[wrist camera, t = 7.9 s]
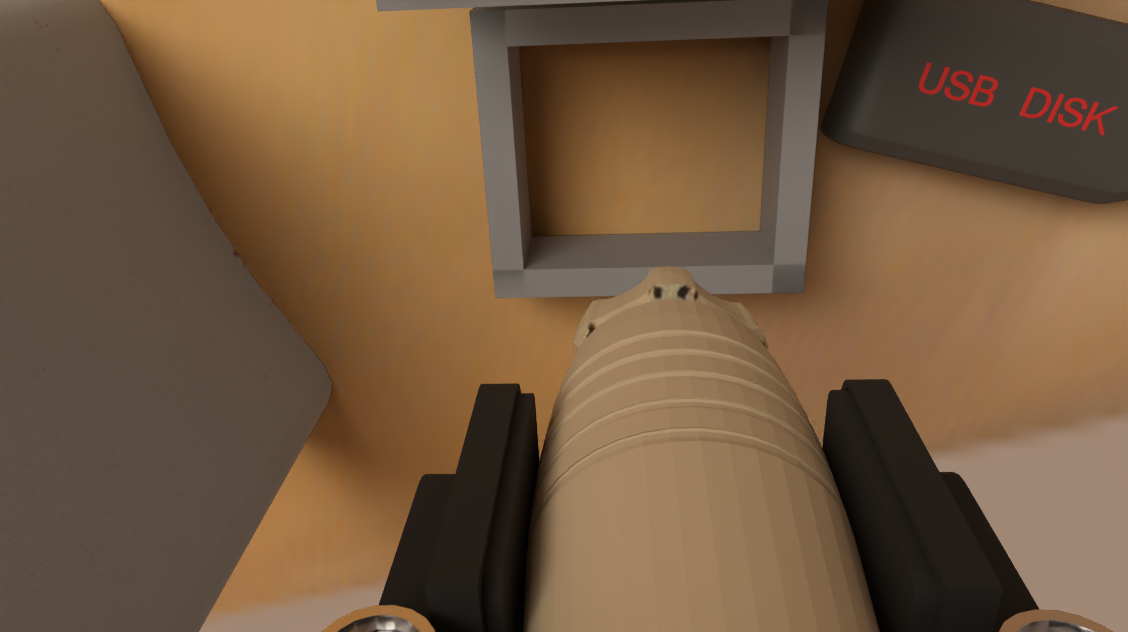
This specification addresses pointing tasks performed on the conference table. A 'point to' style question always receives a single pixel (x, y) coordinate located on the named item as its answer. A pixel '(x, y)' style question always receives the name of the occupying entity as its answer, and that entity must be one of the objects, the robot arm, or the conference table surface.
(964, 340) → the conference table surface
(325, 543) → the conference table surface
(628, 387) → the handle
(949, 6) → the usb drive
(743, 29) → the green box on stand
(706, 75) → the conference table surface
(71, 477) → the flask
